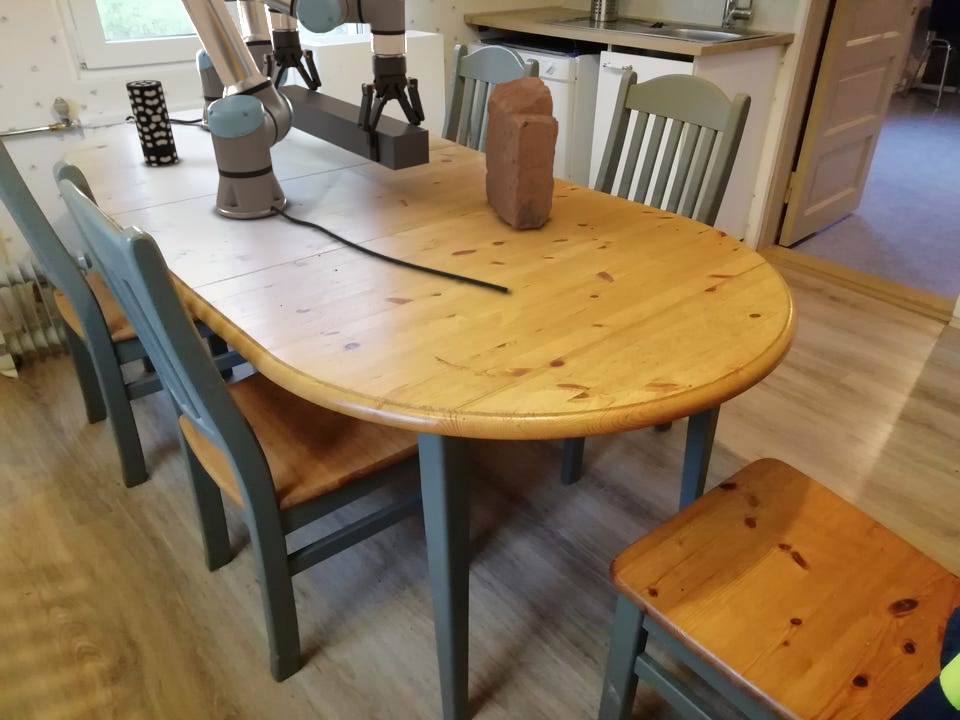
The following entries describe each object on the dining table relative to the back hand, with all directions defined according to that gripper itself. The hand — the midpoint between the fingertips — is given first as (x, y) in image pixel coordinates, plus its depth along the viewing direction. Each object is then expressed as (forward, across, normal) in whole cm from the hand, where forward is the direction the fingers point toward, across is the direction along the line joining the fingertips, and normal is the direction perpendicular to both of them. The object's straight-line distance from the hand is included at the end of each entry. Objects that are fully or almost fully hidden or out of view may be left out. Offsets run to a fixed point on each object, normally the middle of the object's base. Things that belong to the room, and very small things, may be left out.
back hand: (295, 116), depth 193 cm
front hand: (-1, +1, +48) cm, 48 cm away
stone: (+8, -13, +77) cm, 78 cm away
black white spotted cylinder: (-1, +34, -13) cm, 37 cm away
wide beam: (0, +1, +24) cm, 24 cm away
